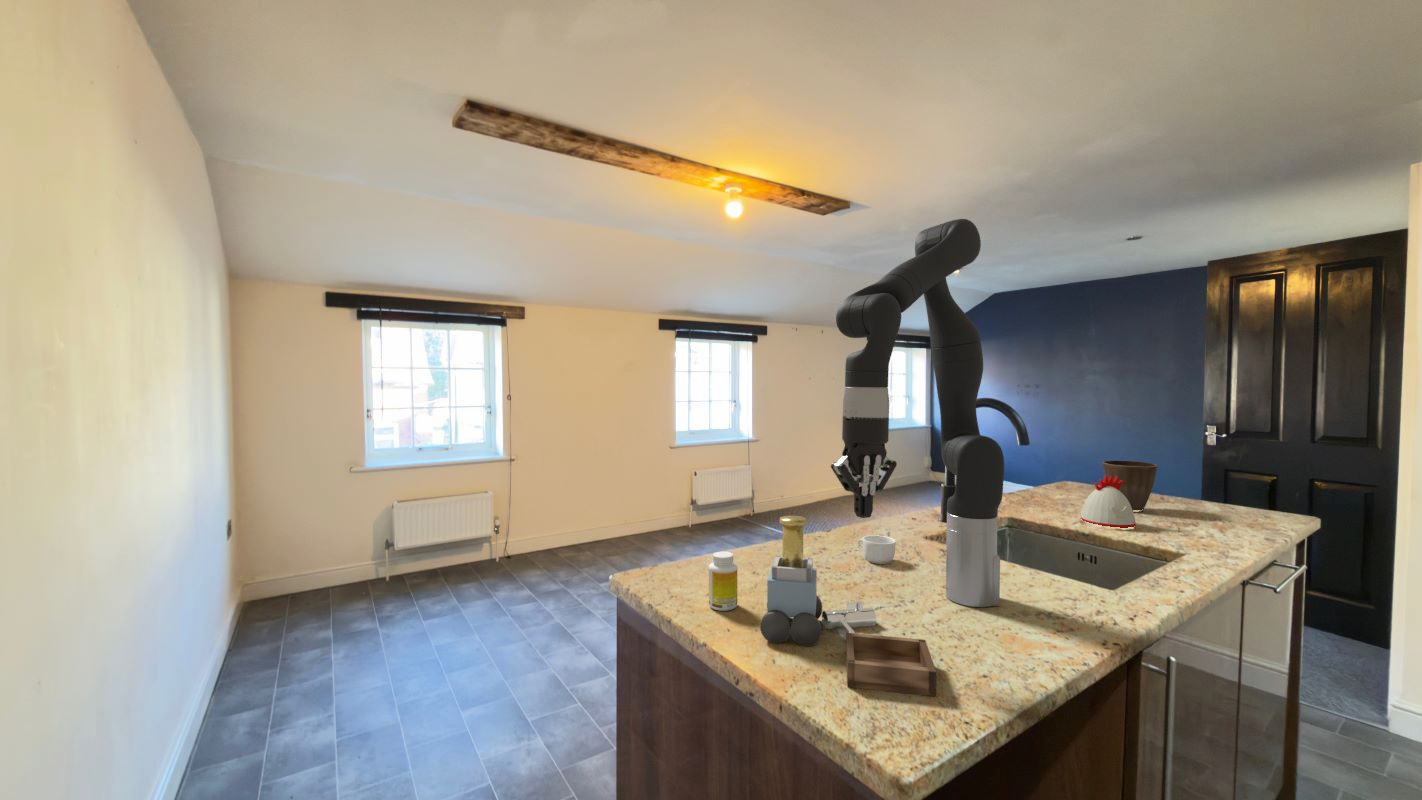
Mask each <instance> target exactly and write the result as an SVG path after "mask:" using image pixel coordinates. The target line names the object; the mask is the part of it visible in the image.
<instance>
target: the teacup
mask: <svg viewBox="0 0 1422 800" xmlns="http://www.w3.org/2000/svg"><path fill="white" fill-rule="evenodd" d="M861 542H862V545H861ZM857 545H858V547H859V548H860V549H861V551H862V552H863V555H864V557H865V559H866V560H867V561H869V562H870V563H873V564H877V565H886V564H889V563H891V562H892V561H893V559H894V557H895V554H896V547H897V541H896V539H894V538H893V537H890V536H885V535H878V534H870V535H865V536H863V537H862V538H859V539H858V540H857Z"/></svg>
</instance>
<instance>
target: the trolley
mask: <svg viewBox="0 0 1422 800" xmlns="http://www.w3.org/2000/svg"><path fill="white" fill-rule="evenodd" d="M813 560H814V559H813V558H812V557H803V568H793V567H782V561H783V555H781V556H780V555H776V556H775V557H774V561H773V563H772V566H771V569H770V571H769V574H768V577H767V585H766V586H767V588H766V589H767V590H766V591H767V596H766V597H767V599H766V600H767V601H766V608H767V610H766V613H765V614H764V615H763V617H762V618H761V622H760V626H759V628H760V633H761V635H762V637H763V638H764V639H765V640H766V641H768V642H769V643H771V644H782V643H783V642H785V641H787V639H789V637H790V635H791V638H792V639H793V641H794V642H795V644H798V645H800V646H803V647H811V646H812V647H813V646H814V645H815V644H817V643H818V642H819V640H820V638H821V634H822V624H821V622H820V620H819V618H821V617H822V612H823V602H822V599H821V598H820V597H819V596H818V593H817V584H818V583H817V578H818V577H817V576H818V575H817V574H818V573H817V572H818V570H817V568H814V567H813V565H814V564H813V562H814V561H813ZM790 618H792V619H790Z"/></svg>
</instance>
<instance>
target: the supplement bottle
mask: <svg viewBox="0 0 1422 800" xmlns="http://www.w3.org/2000/svg"><path fill="white" fill-rule="evenodd" d="M734 559H735V558H734V553H732V552H730V551H717V552H714V553H713V555H712V562H711V563H710V564H709V565H708V605H709V606H710V608H711V609H712V610H716V611H720V612H726V611H727V612H728V611H731V610H734V609H736V607H737V606H738V565H737V563H735V562H734Z"/></svg>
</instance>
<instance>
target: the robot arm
mask: <svg viewBox="0 0 1422 800" xmlns="http://www.w3.org/2000/svg"><path fill="white" fill-rule="evenodd" d="M981 244H982V241H981V236H980V232H979V230H978V228H977V226H976V224H975V223H973V221H971V220H969V219H967V218H966V219H965V218H958V219H951V220H949V221H946V222H944V223H940V224H936V225H935V226H934V225H933V226H931V227H928V228H925V229H923V230H921V231H920V232H918V234H917V235H916V238H915V244H914V254H915V256H914V257H912V258H909V259H908V260H906V261H904V262H902V263H900V264H899V265H897V266H895V267H894V268H893V269H891V270H890V271H889V272H888V273H886V274H885V275H884V276H883V277H881V278H880V279H879V280H878V281H876V282H875V283H872V284H870V285H868V286H866V287H864V288H861V289H859V290H857V291H855V292H854V293H852V294H850V295H848V296H847V297H846V298H845V299H843V301H842V302H841V303H840V304H839V307H838V309H837V310H836V314H835V323H836V326H837V329H838V330H839V332H840V333H841V334H842V335H843V336H846V337H848V338H851V339H862V338H868V340H867V342H866V344H865V346H864V348H862V349H860V350H858V351H856V352H855V351H854V352H852V353H850V354H848V355H847V357H846V360H845V367H844V370H845V372H844V373H845V374H844V376H845V377H844V392H843V399H842V427H841V428H842V433H841V435H842V436H841V437H842V438H841V440H842V441H843V443H844V448H843V450H842V452H841V455H842V456H841V458H840V459H839V460H838V461H837V462H834V461H833V462H832V463H831V464H830V468H831V470H832V472H833V474H834V475H835V476H836V478H837V479H838V481H839V483H840V484H841V486H842V487H843V489H844V490H845V491H846V492H850V493H852V494H853V496H854V499H853V500H854V503H853V504H854V505H853V510H854V514H855V516H856V517H858V518H861V519H868V518H871V516H872V513H873V509H874V495H875V494H876V493H877V492H881V491H883V490H884V488H885V486H886V484H887V483H888V481H889V480H890V478H891V476H892V474H893V473H894V471H895V469H896V467H897V465H898V464H897V461H896V460H891V459H890V458H889V457H888V455H887V454H888V453H887V449H886V446H885V445H886V444H887V443H888V442H889V431H890V429H889V427H890V396H889V395H890V394H889V371H890V370H889V367H890V365H889V364H890V360H891V357H892V353H893V351H894V347H895V344H896V339H897V336H898V333H899V330H900V327H901V323H902V313H904V312H905V311H906V310H907V309H909V308H910V307H911V306H912V305H913V304H914V303H916V302H917V301H918V300H919V299H920V298H921V297H922V296H923V298H924V303H925V309H926V315H927V320H928V321H927V322H928V327H929V328H928V329H929V339H930V348H931V357H932V365H933V370H934V371H933V372H934V376H935V387H936V393H937V399H938V404H939V412H940V413H939V414H940V451H941V453H940V454H941V459H942V462H943V465H944V466H945V467H946V469H947V470H948V471H949V472H950V473H951V474H953V475H954V476H955V487H954V489H955V490H954V493H953V495H951V496H949V497H948V499H947V501H946V547H945V548H946V553H945V554H946V556H945V559H946V561H945V563H946V565H945V567H946V568H945V597H946V598H947V599H948V600H950V601H952V602H954V603H956V604H959V605H962V606H966V607H973V608H988V607H992V606H996V607H997V606H999V607H1000V598H1001V597H1000V593H1001V592H1000V589H1001V587H1000V585H1001V583H1000V582H1001V580H1000V579H1001V557H1000V555H998V509H999V507H1000V505H1001V503H1002V501H1003V495H1004V494H1003V491H1004V479H1005V478H1004V476H1005V456H1004V452H1003V450H1002V447H1001V445H1000V443H999V442H997V441H996V440H995V439H993V438H991V437H989V436H986V435H981V433H980V429H979V424H978V415H977V399H978V395H979V391H980V387H981V383H982V379H983V374H984V356H983V347H982V346H983V345H982V341H981V334H980V331H979V330H978V328H977V326H976V325H975V323H974V322H973V321H972V319H970V317H969V316H968V315H967V314H966V312H964V310H962V308H961V307H960V305H959V304H958V303H957V302H956V301H955V299H954V298H953V296H952V294H951V292H950V289H949V285H948V281H947V277H948V276H950V275H952V274H953V273H955V272H956V271H958V270H960V269H962V268H964V267H967V266H968V265H970V264H972V263H973V262H974V261H975V260H976V259H977V258H978V256H979V254H980V252H981V247H982V245H981Z"/></svg>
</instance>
